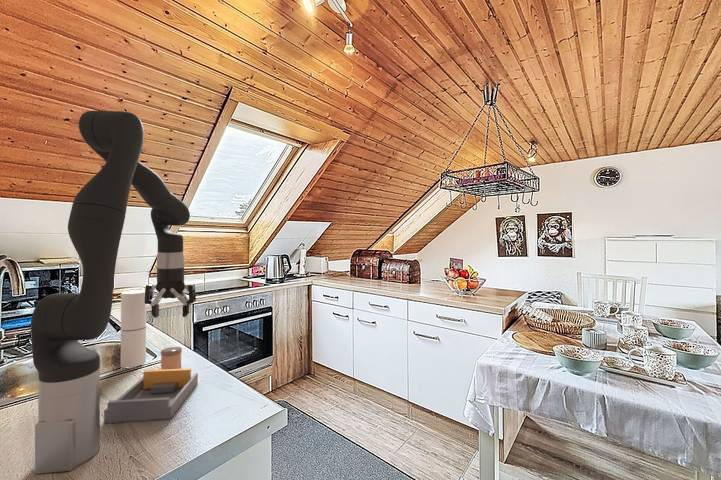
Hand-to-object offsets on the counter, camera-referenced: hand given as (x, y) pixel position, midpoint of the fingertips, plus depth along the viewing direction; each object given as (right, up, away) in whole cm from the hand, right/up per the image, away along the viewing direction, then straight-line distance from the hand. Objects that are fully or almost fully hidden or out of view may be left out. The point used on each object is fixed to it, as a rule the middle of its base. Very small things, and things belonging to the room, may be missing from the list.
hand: (170, 316), depth 103 cm
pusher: (+4, -18, -10) cm, 22 cm away
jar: (0, -19, +1) cm, 19 cm away
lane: (+5, -19, -17) cm, 26 cm away
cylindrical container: (-18, -19, +8) cm, 27 cm away
